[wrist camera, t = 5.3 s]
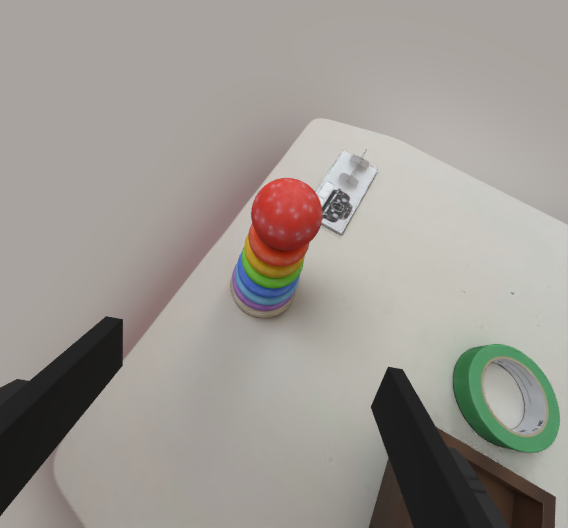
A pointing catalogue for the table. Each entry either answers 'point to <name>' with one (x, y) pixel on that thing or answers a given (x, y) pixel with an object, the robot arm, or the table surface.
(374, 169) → the car cutout
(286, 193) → the stacking toy
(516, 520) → the square tray
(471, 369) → the tape roll
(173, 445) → the table surface
